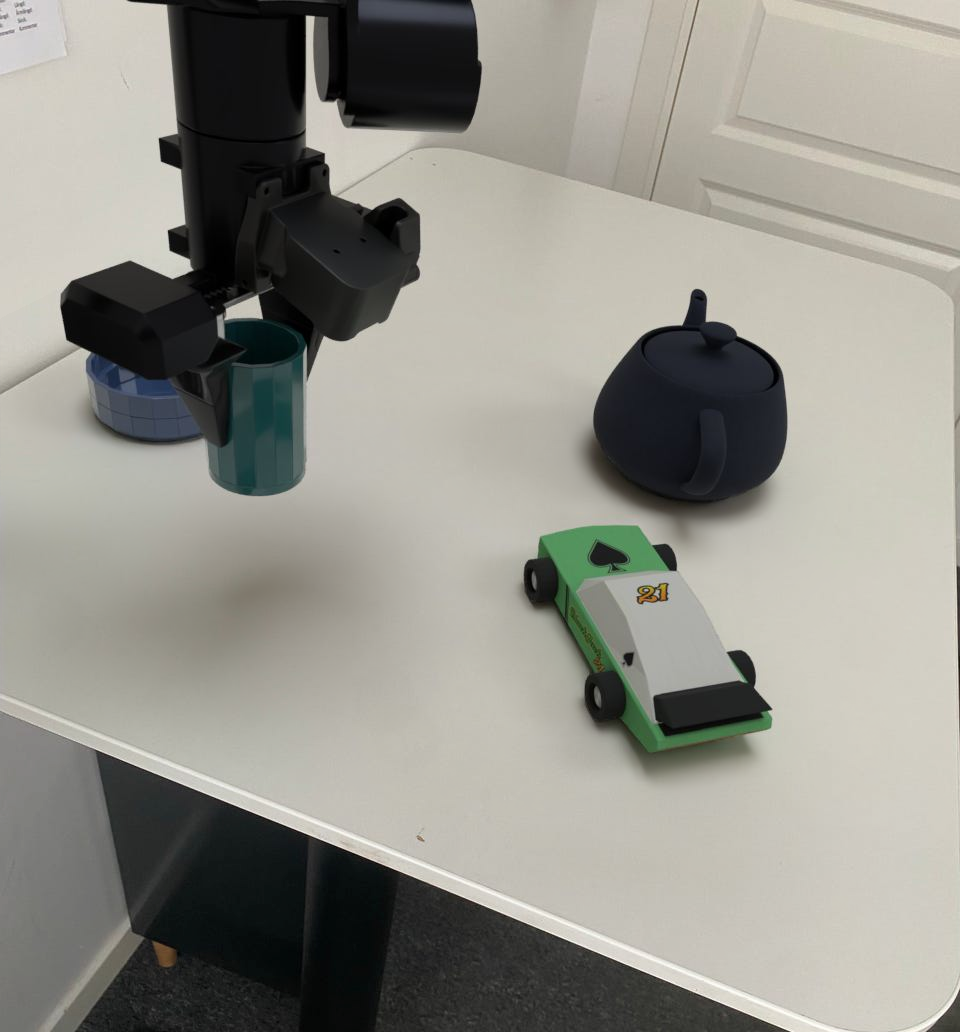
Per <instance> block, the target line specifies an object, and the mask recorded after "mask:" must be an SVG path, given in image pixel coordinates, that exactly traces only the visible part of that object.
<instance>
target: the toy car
mask: <svg viewBox="0 0 960 1032" xmlns="http://www.w3.org/2000/svg"><path fill="white" fill-rule="evenodd" d="M537 549H538V550H537V558H531V559H527V561H525V563H524V566H523V584H524V589H525V593H526V595H527V597H528V599H529V600H530V601H531V602H533V603H536V602H543V601H551V600H553V601H554V602H555V604H556V605H557V608H558V609H559V611H560V613H561V614H562V616H563V618H564V620H565V621H566V623H567V625H568V627H569V629H570V631H571V632H572V635H573V636H574V638H575V639H576V642H577V643H578V645H579V648H580V649H581V650H582V652H583V654H584V656H585V658H586V660H587V661H588V663H589V665H590V666H591V669H592V670H593V673H589V674H588V675H587V677H586V679H585V682H584V687H583V688H584V689H583V690H584V701H585V705H586V707H587V711H588V713H589V714H590V716H591V717H592V718H593V719H594V720H595V721H596V722H604V721H609V720H615V719H616V720H617V719H620V720H621V721H622V722H623V723H624V724H625V726H626V727H627V728H628V729H629V731H630V732H631V733H632V734H633V735H634V736H635V737H636V738H637V740H638V741H639V743H641V744H642V746H643V747H644V748H645V749H646V750H647V752H648V753H650V754H651V753H657V752H661V751H666V750H673V749H676V748H677V749H678V748H682V747H687V746H692V745H698V744H702V743H708V742H712V741H717V740H723V739H729V738H734V737H738V736H739V737H740V736H743V735H745V736H746V735H750V734H755V733H760V732H765V731H767V730H770V729H772V726H773V717H772V715H771V713H770V712H769V711H773V708H772V707H771V705H770V704H769V703H768V702H767V701H766V699H764V697H763V696H762V695H761V694H760V693H759V692H758V690H757V689H756V687H755V686H756V682H757V673H756V667H755V664H754V662H753V660H752V658H751V656H750V655H749V654H748V653H747V652H746V651H744V650H742V649H735V650H729V651H727V650H726V648H725V646H724V645H723V642H722V640H721V639H720V637H719V635H718V633H717V631H716V629H715V627H714V625H713V623H712V621H711V619H710V617H709V615H708V613H707V611H706V609H705V607H704V605H703V604H702V603H701V601H700V600H699V598H698V597H697V596H696V594H695V593H694V591H693V590H692V588H691V587H690V585H689V584H688V583H687V580H686V579H684V577H683V576H682V574H681V573H680V571H679V570H678V562H677V561H678V560H677V555H676V553H675V552H674V550H673V548H672V547H671V546H670V545H669V544H667V543H657V544H652V543H651V542H650V540H649V539H648V537H647V536H646V535H645V533H644V532H643V531H642V529H641V528H640V526H639V525H625V524H624V525H623V524H617V525H616V524H611V525H610V524H608V525H602V524H601V525H588V526H587V525H586V526H579V527H574V528H569V529H564V530H560V531H557V532H551V533H548V534H544V535H540V536H539V539H538V547H537Z"/></svg>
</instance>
